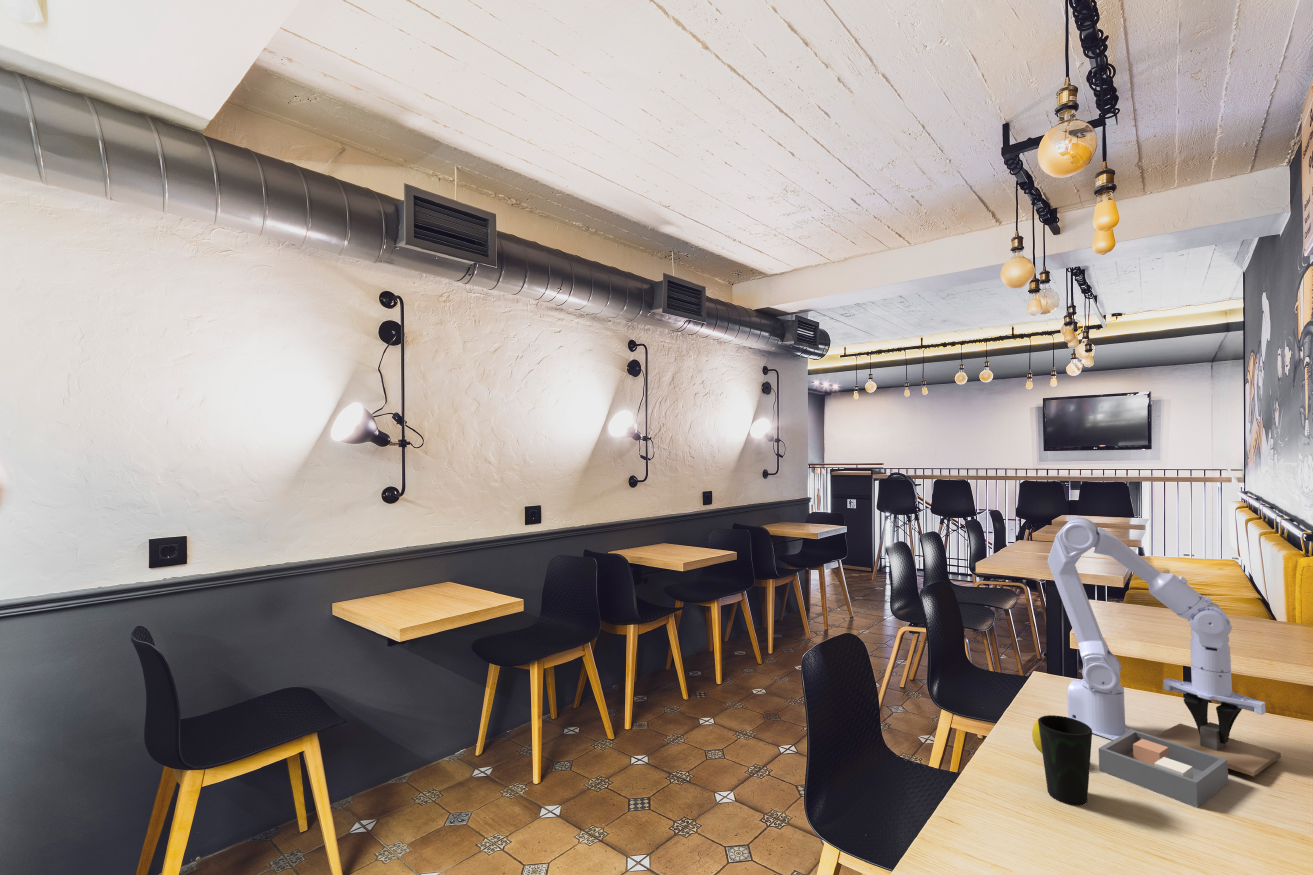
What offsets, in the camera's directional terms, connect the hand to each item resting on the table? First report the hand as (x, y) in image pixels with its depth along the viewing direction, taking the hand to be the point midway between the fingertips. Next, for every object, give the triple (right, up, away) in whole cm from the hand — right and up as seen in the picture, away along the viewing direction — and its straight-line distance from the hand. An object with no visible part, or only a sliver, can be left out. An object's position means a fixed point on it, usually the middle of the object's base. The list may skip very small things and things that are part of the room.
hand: (1213, 738), depth 116 cm
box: (-16, -3, -8) cm, 18 cm away
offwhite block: (-17, -2, -11) cm, 21 cm away
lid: (0, -2, 0) cm, 2 cm away
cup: (-37, -3, -13) cm, 40 cm away
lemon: (-32, -4, -1) cm, 32 cm away
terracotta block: (-16, -2, -4) cm, 16 cm away
